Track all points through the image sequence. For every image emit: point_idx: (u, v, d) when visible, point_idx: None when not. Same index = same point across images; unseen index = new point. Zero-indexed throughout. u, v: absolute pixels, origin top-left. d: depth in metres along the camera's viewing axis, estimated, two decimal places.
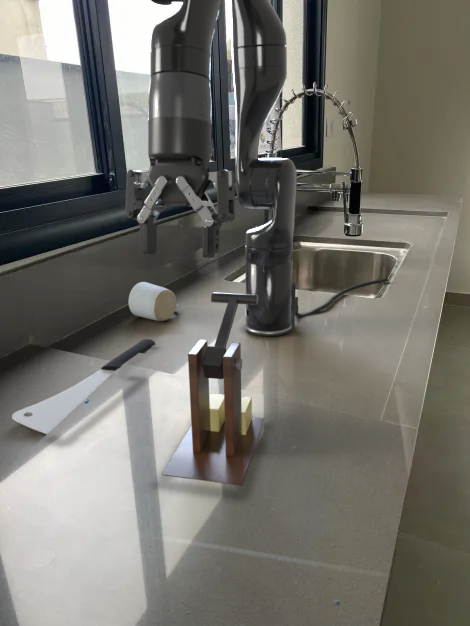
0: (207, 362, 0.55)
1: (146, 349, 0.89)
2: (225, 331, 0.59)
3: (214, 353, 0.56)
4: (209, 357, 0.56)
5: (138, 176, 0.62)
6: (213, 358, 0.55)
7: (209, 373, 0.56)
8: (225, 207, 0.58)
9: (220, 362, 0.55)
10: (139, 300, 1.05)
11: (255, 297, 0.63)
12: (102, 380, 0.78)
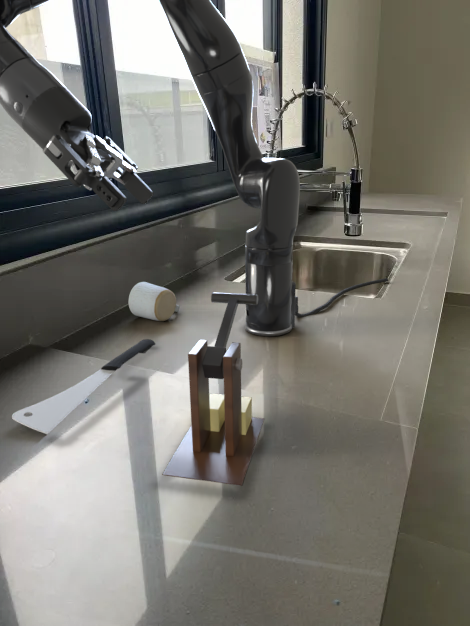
0: (207, 362, 0.55)
1: (146, 349, 0.89)
2: (225, 331, 0.59)
3: (214, 353, 0.56)
4: (209, 357, 0.56)
5: None
6: (213, 358, 0.55)
7: (209, 373, 0.56)
8: None
9: (220, 362, 0.55)
10: (139, 300, 1.05)
11: (255, 297, 0.63)
12: (102, 380, 0.78)
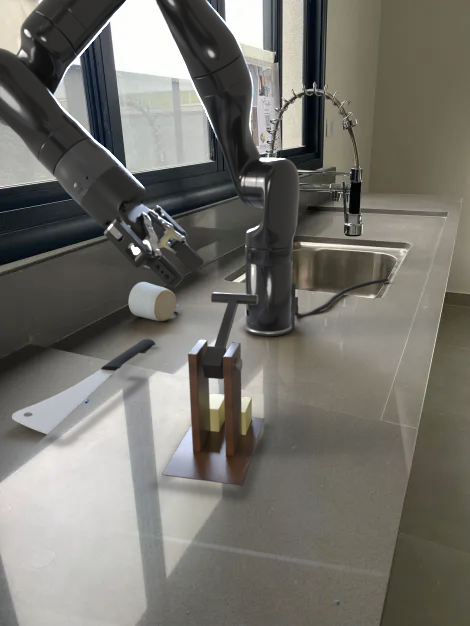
0: (207, 362, 0.55)
1: (146, 349, 0.89)
2: (225, 331, 0.59)
3: (214, 353, 0.56)
4: (209, 357, 0.56)
5: None
6: (213, 358, 0.55)
7: (209, 373, 0.56)
8: None
9: (220, 362, 0.55)
10: (139, 300, 1.05)
11: (255, 297, 0.63)
12: (102, 380, 0.78)
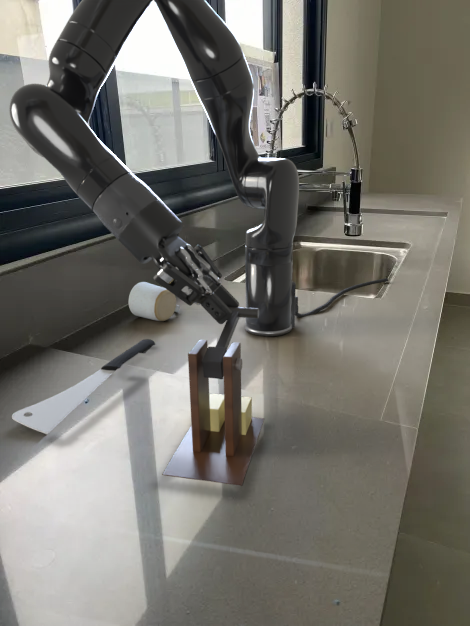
0: (207, 359, 0.55)
1: (146, 349, 0.89)
2: (226, 336, 0.60)
3: (215, 352, 0.56)
4: (209, 355, 0.56)
5: None
6: (213, 356, 0.55)
7: (209, 372, 0.56)
8: None
9: (220, 359, 0.55)
10: (139, 300, 1.05)
11: (256, 310, 0.64)
12: (102, 380, 0.78)
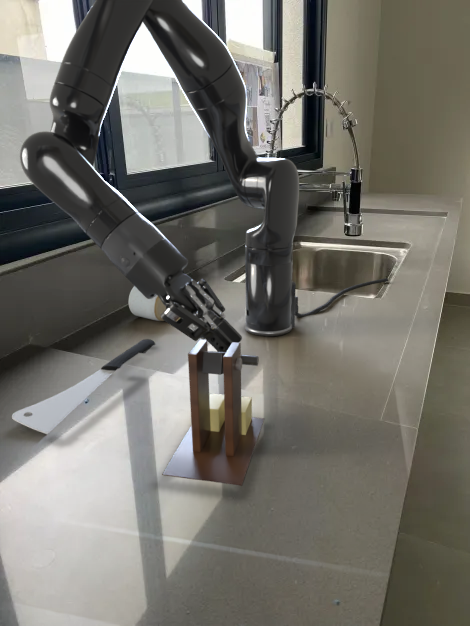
0: (209, 351, 0.56)
1: (146, 349, 0.89)
2: None
3: None
4: None
5: None
6: None
7: (208, 365, 0.55)
8: None
9: (222, 352, 0.55)
10: (139, 300, 1.05)
11: (256, 356, 0.66)
12: (102, 380, 0.78)
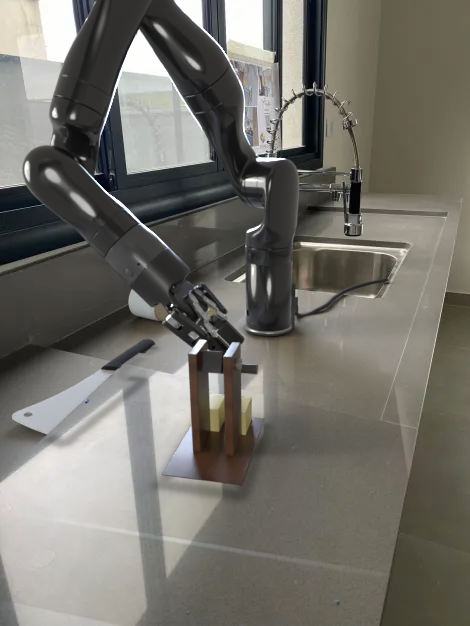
0: None
1: (146, 349, 0.89)
2: None
3: None
4: None
5: None
6: None
7: (208, 364, 0.55)
8: None
9: (222, 352, 0.56)
10: (139, 300, 1.05)
11: None
12: (102, 380, 0.78)
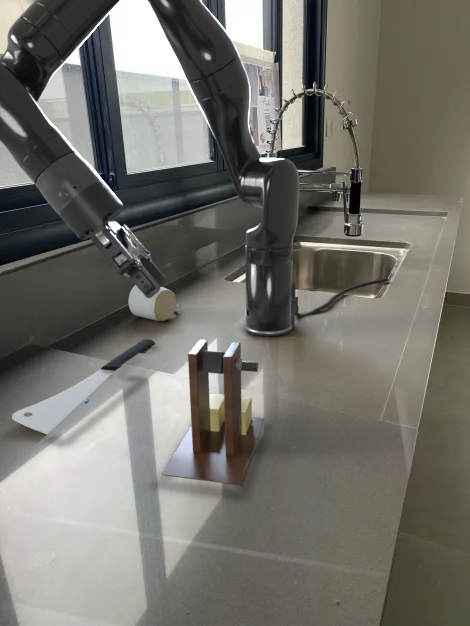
0: (209, 351, 0.56)
1: (146, 349, 0.89)
2: None
3: None
4: None
5: None
6: None
7: (208, 364, 0.55)
8: None
9: (222, 352, 0.56)
10: (139, 300, 1.05)
11: (256, 362, 0.66)
12: (102, 380, 0.78)
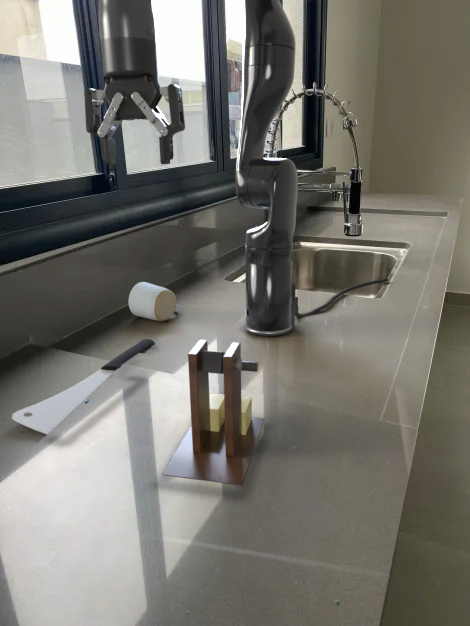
0: (209, 351, 0.56)
1: (146, 349, 0.89)
2: None
3: None
4: None
5: (94, 94, 0.70)
6: None
7: (208, 364, 0.55)
8: (177, 118, 0.68)
9: (222, 352, 0.56)
10: (139, 300, 1.05)
11: (256, 362, 0.66)
12: (102, 380, 0.78)
